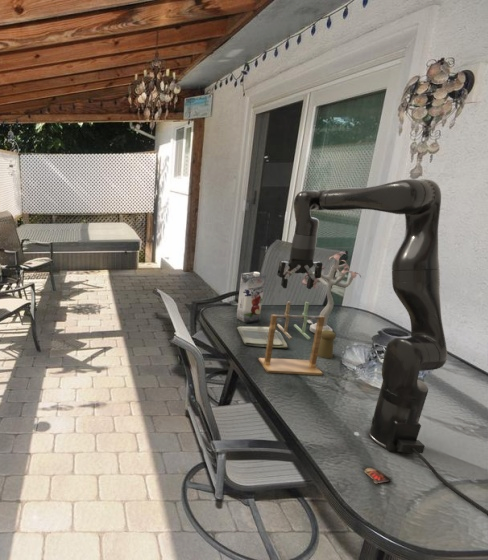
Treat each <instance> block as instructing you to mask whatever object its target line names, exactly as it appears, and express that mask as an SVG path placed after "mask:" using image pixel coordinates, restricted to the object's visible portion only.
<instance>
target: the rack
mask: <svg viewBox="0 0 488 560" xmlns="http://www.w3.org/2000/svg"><path fill="white" fill-rule="evenodd" d="M289 315H290V314H289ZM319 315H320V314H319ZM319 315H308V318H307V320H316V323H317V325H316V331H315V333H314V336H313V341H312V348H311V352H310V359H297V358H295V359H294V358H273V357H272V354H273V348H272V347H273V341H274V334H275V330H276V327H277V321H278V319H286V315H284V314H274V313H273V314H271V315H270V321H269V326H268V327H269V334H268V341H267V347H265V348H266V349H265V356H264V357H258V361H259V362H260V364H261V365H262V367H263V368H264V370H265V371H266V373H269V374H286V375H287V374H289V375H292V374H293V375H308V376H311V375H312V376H323V372H322V371H321V370H320V369H319V367H317V365H316V364H317V360H318V350H319V345H320V340H321V338H322V337H321V335H322V330H323V325H324V319H325V317H324V316H319ZM289 319H293V320H294V319H296V320H299V319H301V320H304V316H302V315H297V314H295V315H292V314H291V315H290V317H289Z"/></svg>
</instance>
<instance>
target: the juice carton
mask: <svg viewBox="0 0 488 560" xmlns="http://www.w3.org/2000/svg"><path fill="white" fill-rule="evenodd" d="M266 278H267V275H266V274H263V273H260V272H259V271H251V272H241V273H240V283H239V292H238V300H237V310H236V319H237V320H239V321H241V322H242V323H245V324H250V323H255V322H259V321H260V318H261V312H262V305H263V297H264V289H265V283H266V282H265V281H266Z"/></svg>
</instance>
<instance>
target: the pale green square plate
mask: <svg viewBox="0 0 488 560" xmlns="http://www.w3.org/2000/svg"><path fill="white" fill-rule="evenodd" d="M269 327H270V326H238V327H237V328H236V329H237V331H238V333H239V336H240V338H241V340H242V342H243V344H244V345H245V346H249V347H258V348H267V341H268V334H269ZM288 348H289V346H288V344H287V342H286V340H285V338H284V337H283V335H282V333H281V331H278V330H277V329H275V334H274V341H273V347H272V349H286V350H287V349H288Z"/></svg>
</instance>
